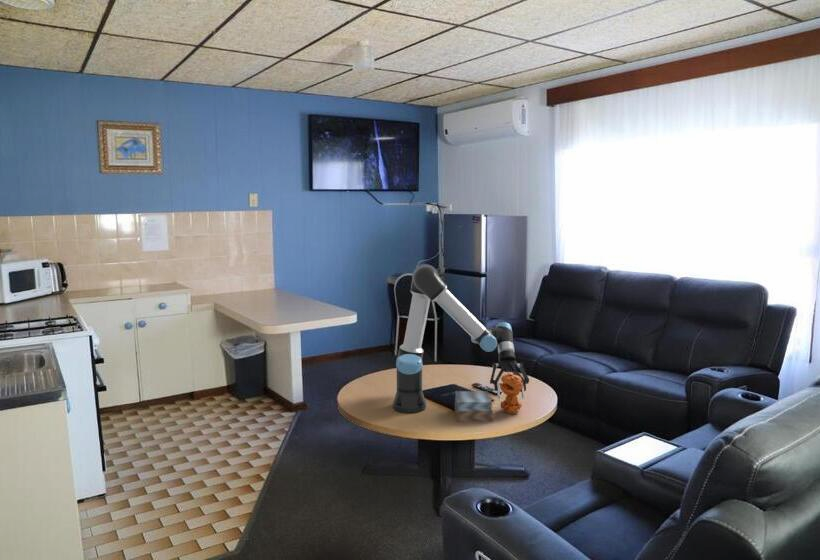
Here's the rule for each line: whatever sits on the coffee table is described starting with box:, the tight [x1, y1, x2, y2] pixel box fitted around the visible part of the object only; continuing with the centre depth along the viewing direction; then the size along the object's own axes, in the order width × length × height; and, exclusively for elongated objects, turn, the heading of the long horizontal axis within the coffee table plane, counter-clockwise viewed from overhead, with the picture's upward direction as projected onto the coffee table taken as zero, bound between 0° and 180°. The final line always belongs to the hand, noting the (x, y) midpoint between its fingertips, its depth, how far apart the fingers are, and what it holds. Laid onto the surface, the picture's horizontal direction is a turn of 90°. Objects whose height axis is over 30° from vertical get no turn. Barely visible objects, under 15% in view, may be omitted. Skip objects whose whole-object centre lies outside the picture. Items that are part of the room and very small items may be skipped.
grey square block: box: [454, 390, 493, 423], centre depth 259 cm, size 15×15×8 cm
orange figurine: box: [498, 372, 524, 414], centre depth 263 cm, size 11×11×18 cm
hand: (511, 397), depth 260 cm, fingers closed on orange figurine, 10 cm apart
